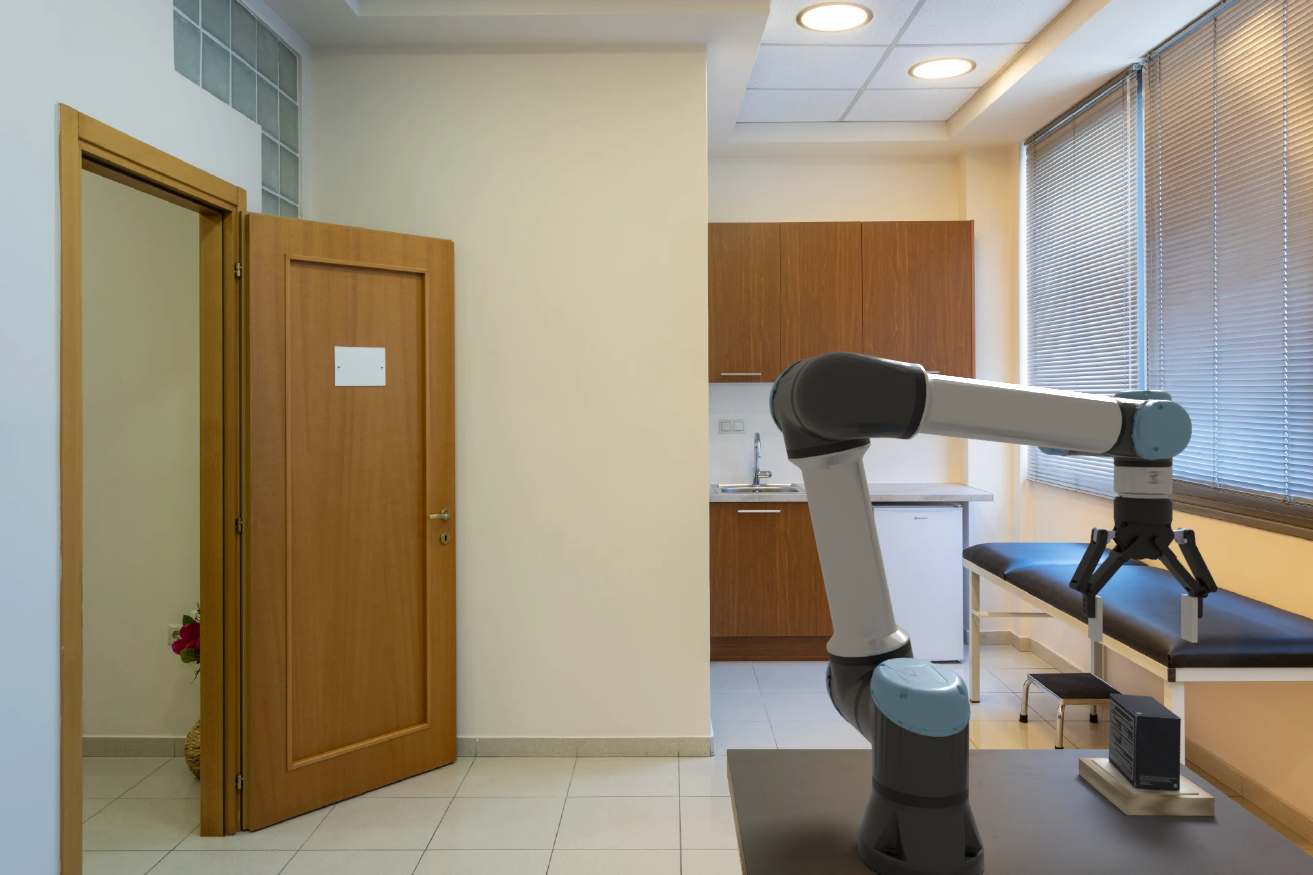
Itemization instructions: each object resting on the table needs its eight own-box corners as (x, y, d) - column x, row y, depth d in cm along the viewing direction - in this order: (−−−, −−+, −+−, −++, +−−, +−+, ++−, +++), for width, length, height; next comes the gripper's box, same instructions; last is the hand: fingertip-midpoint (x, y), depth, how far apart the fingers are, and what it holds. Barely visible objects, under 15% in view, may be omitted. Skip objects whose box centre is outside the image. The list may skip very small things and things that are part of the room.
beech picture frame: (1126, 814, 117) (1126, 795, 117) (1078, 773, 131) (1078, 756, 131) (1214, 815, 116) (1214, 796, 116) (1156, 774, 130) (1156, 756, 130)
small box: (1184, 792, 118) (1184, 717, 117) (1133, 789, 119) (1134, 715, 119) (1153, 762, 128) (1153, 694, 128) (1107, 760, 129) (1107, 692, 129)
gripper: (1068, 497, 120) (1068, 646, 120) (1246, 497, 119) (1245, 647, 119) (1045, 493, 127) (1045, 633, 127) (1212, 493, 127) (1212, 634, 127)
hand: (1142, 640), depth 123 cm, fingers open, 13 cm apart
